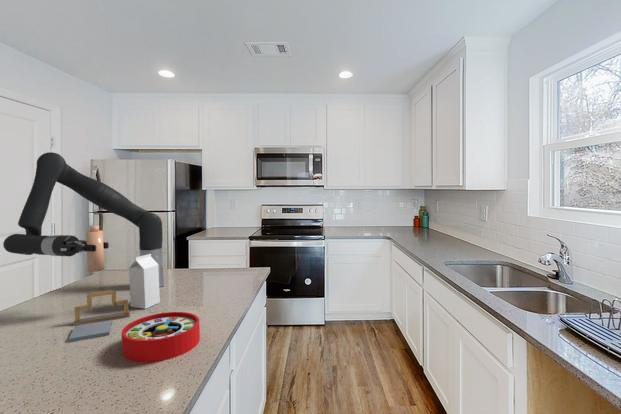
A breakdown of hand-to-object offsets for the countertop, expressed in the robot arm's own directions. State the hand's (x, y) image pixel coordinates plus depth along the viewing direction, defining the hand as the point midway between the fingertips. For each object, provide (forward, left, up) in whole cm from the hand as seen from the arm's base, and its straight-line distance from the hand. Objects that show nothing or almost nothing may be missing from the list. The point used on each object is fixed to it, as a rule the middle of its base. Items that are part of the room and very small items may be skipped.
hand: (101, 246), depth 118 cm
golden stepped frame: (0, +7, -24) cm, 25 cm away
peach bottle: (+2, -2, -8) cm, 9 cm away
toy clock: (-17, +36, -24) cm, 47 cm away
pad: (+2, +17, -24) cm, 29 cm away
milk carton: (-13, -2, -24) cm, 27 cm away
